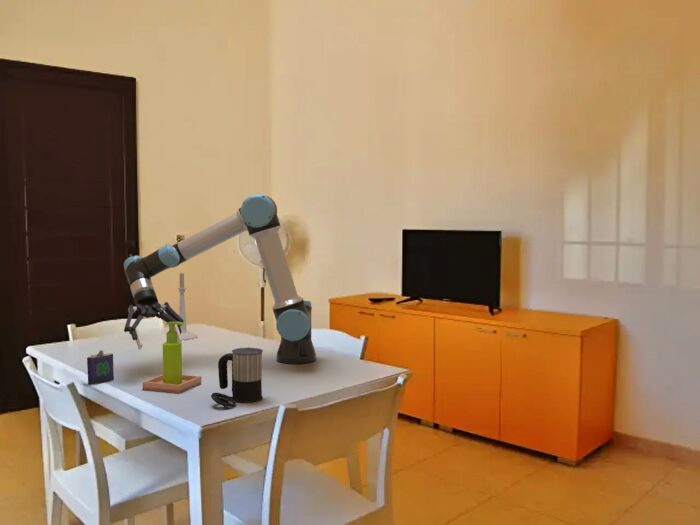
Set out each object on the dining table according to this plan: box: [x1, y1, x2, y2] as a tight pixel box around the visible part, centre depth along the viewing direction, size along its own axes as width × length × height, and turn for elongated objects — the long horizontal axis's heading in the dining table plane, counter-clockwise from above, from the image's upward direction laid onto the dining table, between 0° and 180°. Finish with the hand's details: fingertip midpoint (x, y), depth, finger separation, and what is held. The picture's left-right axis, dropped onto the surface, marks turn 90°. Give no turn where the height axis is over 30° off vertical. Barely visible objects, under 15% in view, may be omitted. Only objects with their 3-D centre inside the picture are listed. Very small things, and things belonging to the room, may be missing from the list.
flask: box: [86, 349, 115, 386], centre depth 214 cm, size 9×3×11 cm, turn 144°
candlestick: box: [177, 272, 198, 341], centre depth 294 cm, size 13×13×30 cm
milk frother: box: [210, 347, 264, 408], centre depth 191 cm, size 14×16×15 cm
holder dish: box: [142, 373, 202, 394], centre depth 208 cm, size 14×13×2 cm
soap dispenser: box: [162, 322, 184, 385], centre depth 208 cm, size 6×7×20 cm
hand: (160, 344), depth 217 cm, fingers open, 13 cm apart
